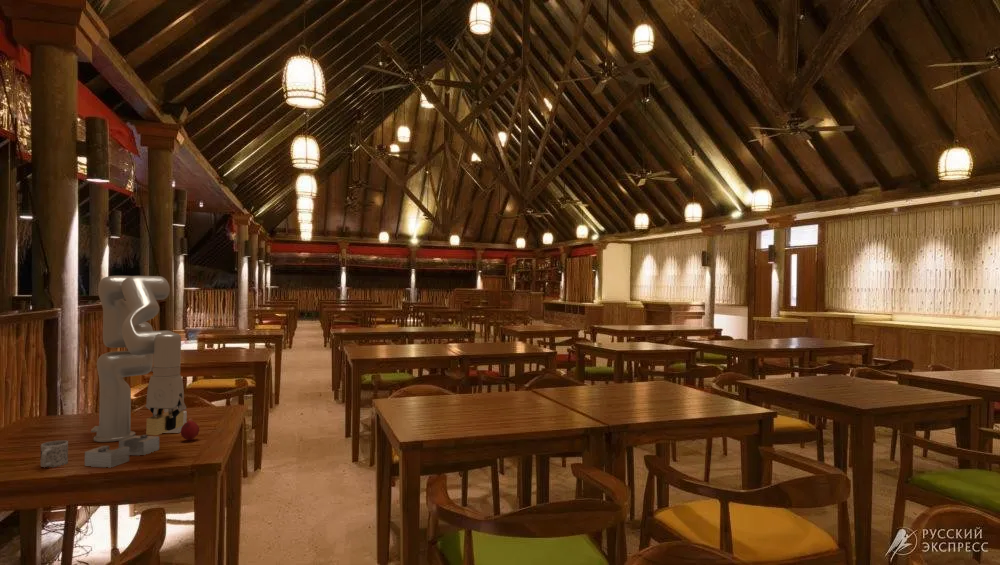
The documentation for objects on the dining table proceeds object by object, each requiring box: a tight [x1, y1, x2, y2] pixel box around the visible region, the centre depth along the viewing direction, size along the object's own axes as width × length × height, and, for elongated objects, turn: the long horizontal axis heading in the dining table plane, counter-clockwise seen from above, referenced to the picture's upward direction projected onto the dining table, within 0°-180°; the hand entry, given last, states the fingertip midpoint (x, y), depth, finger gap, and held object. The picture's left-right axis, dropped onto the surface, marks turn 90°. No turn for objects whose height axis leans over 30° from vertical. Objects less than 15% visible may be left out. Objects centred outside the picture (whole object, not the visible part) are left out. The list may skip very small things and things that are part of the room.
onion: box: [180, 418, 200, 442], centre depth 204 cm, size 6×6×8 cm
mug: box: [40, 439, 69, 469], centre depth 174 cm, size 10×7×7 cm, turn 13°
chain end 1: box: [84, 445, 130, 469], centre depth 177 cm, size 9×7×5 cm
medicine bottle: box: [163, 406, 188, 434], centre depth 218 cm, size 7×7×12 cm
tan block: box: [145, 410, 185, 436], centre depth 182 cm, size 4×12×6 cm, turn 172°
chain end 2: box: [118, 434, 160, 456], centre depth 189 cm, size 9×7×5 cm
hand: (165, 428), depth 182 cm, fingers closed on tan block, 3 cm apart
